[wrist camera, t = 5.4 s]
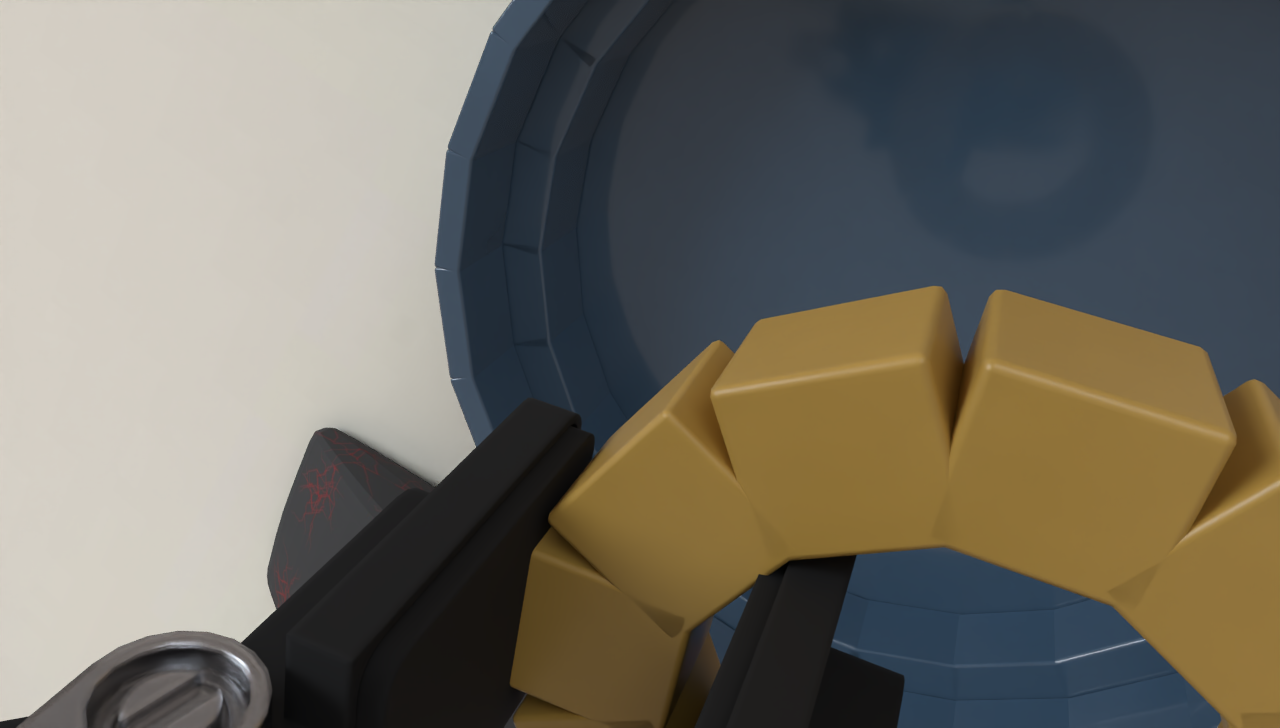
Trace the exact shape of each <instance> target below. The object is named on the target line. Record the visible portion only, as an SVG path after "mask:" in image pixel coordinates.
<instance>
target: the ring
mask: <svg viewBox="0 0 1280 728" xmlns="http://www.w3.org/2000/svg"><path fill="white" fill-rule="evenodd" d="M548 522H549V524H550V525H551V528H550V529H549V530H548V532H547V533H546V534H545V535H544V537H543V538H542V539H541V541H540V542H539V543H538V545H537V546H536V547H535V548H534V550H533V552H532V555H531V559H530V565H529V571H528V577H527V583H526V589H525V595H524V601H523V607H522V612H521V618H520V624H519V630H518V636H517V642H516V648H515V654H514V660H513V666H512V672H511V678H510V686H511V687H513V688H515V689H517V690H520V691H522V692H524V693H527V695H526V696H525V698H524V700H523V701H522V703H521V704H520V706H519V707H518V709H517V710H516V712H515V713H514V715H513V722H514V725H515V727H516V728H694V727H695V725H696V723H697V720H698V718H699V715H700V713H701V711H702V708H703V706H704V704H705V701H706V699H707V696H708V694H709V692H710V689H711V687H712V684H713V682H714V680H715V677H716V675H717V673H718V670H719V668H720V662H719V659H718V656H717V653H716V650H715V647H714V644H713V641H712V639H711V636H710V633H709V630H710V627H711V623H712V620H713V616H714V614H716V613H717V612H719V611H720V610H721V609H723V608H724V607H726V606H727V605H728V604H730V603H731V602H733V601H734V600H735V599H737V598H738V597H740V596H741V595H742V594H744V593H745V592H747V591H748V590H749V589H751V588H752V587H754V584H755V582H756V579H757V577H758V575H759V574H761V575H767V576H768V575H770V574H772V573H773V572H774V571H776V570H777V569H779V568H780V567H781V566H783V565H784V564H786V563H787V562H788V561H792V560H803V559H815V558H826V557H838V556H849V555H861V554H872V553H884V552H895V551H907V550H918V549H930V548H941V547H945V548H948V549H951V550H954V551H957V552H960V553H962V554H965V555H968V556H971V557H974V558H977V559H979V560H982V561H985V562H988V563H991V564H994V565H996V566H999V567H1002V568H1005V569H1008V570H1010V571H1013V572H1016V573H1019V574H1022V575H1025V576H1027V577H1030V578H1033V579H1036V580H1039V581H1042V582H1044V583H1047V584H1050V585H1053V586H1056V587H1059V588H1061V589H1064V590H1067V591H1070V592H1073V593H1076V594H1078V595H1081V596H1084V597H1087V598H1090V599H1093V600H1095V601H1098V602H1101V603H1104V604H1107V605H1110V606H1112V607H1113V608H1114V609H1115V610H1116V611H1117V612H1118V613H1119V614H1120V615H1121V616H1122V617H1123V618H1124V619H1125V620H1126V621H1127V622H1128V623H1129V624H1130V625H1131V626H1132V627H1133V628H1134V629H1135V630H1136V631H1137V632H1138V633H1139V634H1140V635H1141V636H1142V637H1143V638H1144V639H1145V640H1146V641H1147V642H1148V643H1149V644H1150V645H1151V646H1152V647H1153V648H1154V649H1155V650H1156V651H1157V652H1158V653H1159V654H1160V655H1161V656H1162V657H1163V658H1164V659H1165V660H1166V661H1167V662H1168V663H1169V664H1170V665H1171V666H1172V667H1173V668H1174V669H1175V670H1176V671H1177V672H1178V673H1179V674H1180V675H1181V676H1182V677H1183V678H1184V679H1185V680H1186V681H1187V682H1188V683H1189V684H1190V685H1191V686H1192V687H1193V688H1194V689H1195V690H1196V691H1197V692H1198V693H1199V694H1200V695H1201V696H1202V697H1203V698H1204V699H1205V700H1206V701H1207V702H1208V703H1209V704H1210V705H1211V706H1212V707H1213V708H1214V709H1215V710H1216V711H1217V712H1218V713H1219V714H1220V716H1221V722H1220V724H1219V725H1218V727H1217V728H1280V399H1279V398H1278V397H1277V396H1276V395H1275V394H1274V393H1273V392H1272V391H1271V390H1270V389H1269V388H1268V387H1267V386H1266V385H1265V384H1264V383H1262V382H1260V381H1258V380H1256V379H1253V380H1249V381H1247V382H1245V383H1244V384H1242V385H1240V386H1239V387H1237V388H1236V389H1234V390H1233V391H1231V392H1229V393H1228V394H1226V395H1225V396H1223V395H1222V392H1221V389H1220V387H1219V384H1218V381H1217V378H1216V375H1215V373H1214V370H1213V367H1212V364H1211V361H1210V358H1209V356H1208V353H1207V352H1206V351H1205V350H1203V349H1202V348H1201V347H1199V346H1195V345H1192V344H1188V343H1185V342H1181V341H1178V340H1175V339H1171V338H1168V337H1164V336H1161V335H1158V334H1154V333H1151V332H1147V331H1144V330H1141V329H1137V328H1134V327H1130V326H1127V325H1124V324H1120V323H1117V322H1113V321H1110V320H1107V319H1103V318H1100V317H1096V316H1093V315H1090V314H1086V313H1083V312H1079V311H1076V310H1073V309H1069V308H1066V307H1062V306H1059V305H1055V304H1052V303H1049V302H1045V301H1042V300H1038V299H1035V298H1032V297H1028V296H1025V295H1021V294H1018V293H1015V292H1011V291H1008V290H995V291H994V292H993V293H992V294H991V295H990V296H989V298H988V301H987V304H986V306H985V309H984V312H983V314H982V317H981V320H980V322H979V325H978V328H977V330H976V333H975V336H974V338H973V341H972V344H971V346H970V349H969V352H968V354H967V357H966V360H965V362H963V358H962V354H961V349H960V345H959V341H958V337H957V332H956V328H955V324H954V320H953V316H952V311H951V307H950V303H949V299H948V294H947V293H946V291H945V290H944V289H943V287H940V286H930V287H925V288H920V289H915V290H910V291H904V292H899V293H894V294H889V295H884V296H879V297H873V298H868V299H863V300H858V301H853V302H848V303H843V304H837V305H832V306H827V307H822V308H817V309H812V310H806V311H801V312H796V313H791V314H786V315H781V316H776V317H770V318H765V319H761V320H759V321H758V322H756V323H755V324H754V326H753V327H752V329H751V330H750V332H749V333H748V335H747V336H746V338H745V339H744V341H743V342H742V344H741V345H740V347H739V348H738V350H737V351H736V353H735V354H734V353H733V352H732V351H731V350H730V349H729V348H728V347H727V346H726V345H725V344H724V343H723V342H722V341H720V340H717V341H714V342H712V343H711V344H710V345H709V346H708V347H707V348H706V349H705V350H704V351H702V352H701V353H700V354H699V355H698V356H697V357H696V358H695V359H694V360H693V361H692V362H691V363H690V364H688V365H687V366H686V367H685V368H684V369H683V370H682V371H681V372H680V373H679V374H678V375H677V376H675V377H674V378H673V379H672V380H671V381H670V382H669V383H668V384H667V385H666V386H665V387H664V388H663V389H661V390H660V391H659V392H658V393H657V394H656V395H655V396H654V397H653V398H652V399H651V400H650V401H648V402H647V403H646V404H645V405H644V406H643V407H642V408H641V409H640V410H639V411H638V412H637V413H636V414H634V415H633V416H632V417H631V418H630V419H629V420H628V421H627V422H626V423H625V424H624V425H623V426H621V427H620V428H619V429H618V430H617V431H616V432H615V433H614V434H613V435H612V436H611V437H610V438H609V439H608V440H607V442H606V443H605V444H604V445H603V447H602V448H601V449H600V450H599V452H598V453H597V454H596V455H595V457H594V458H593V459H592V460H591V462H590V463H589V464H588V465H587V467H586V468H585V469H584V470H583V472H582V473H581V474H580V475H579V477H578V478H577V479H576V480H575V482H574V483H573V484H572V486H571V487H570V488H569V489H568V491H567V492H566V493H565V494H564V496H563V497H562V498H561V499H560V501H559V502H558V503H557V504H556V506H555V507H554V508H553V509H552V511H551V512H550V513H549V516H548Z"/></svg>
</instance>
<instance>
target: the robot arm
mask: <svg viewBox="0 0 1280 728" xmlns="http://www.w3.org/2000/svg"><path fill="white" fill-rule="evenodd" d="M581 427H582V421H581V416H580V415H579V414H577V413H574V412H571V411H569V410H566V409H563V408H560V407H557V406H554V405H552V404H549V403H546V402H543V401H540V400H537V399H535V398H527V399H526V400H524V401H523V402H522V403H521V404H520V405H519V406H518V407H517V408H516V409H515V410H514V411H513V412H512V413H511V414H510V415H509V416H508V417H507V418H506V419H505V420H504V421H503V422H502V423H501V424H500V425H499V426H498V427H497V428H496V429H495V430H494V431H493V432H491V433H490V434H489V435H488V436H487V437H486V438H485V439H484V440H483V441H482V442H481V443H480V444H479V445H478V446H477V447H476V448H475V449H474V450H473V451H472V452H471V453H470V454H469V455H468V456H467V457H466V458H465V459H464V460H463V461H462V462H461V463H460V464H459V465H458V466H457V467H456V468H455V469H454V470H453V471H452V472H451V473H450V474H449V475H448V476H447V477H446V478H445V479H444V480H443V481H442V482H441V483H439V484H438V485H437V486H436V487H435V488H434V489H433V490H432V491H431V492H430V493H429V492H426V491H424V490H421V489H418V488H411V489H407V490H406V491H404V492H403V493H402V494H400V495H399V496H397V497H396V498H395V499H394V500H393V501H392V502H391V503H390V504H389V505H388V506H387V507H386V508H384V509H383V510H382V511H381V512H380V513H379V514H378V515H377V516H376V517H375V518H374V519H373V520H372V521H371V522H370V523H368V524H367V525H366V526H365V527H364V528H363V529H362V530H361V531H360V532H359V533H358V534H357V535H356V536H355V537H354V538H352V539H351V540H350V541H349V542H348V543H347V544H346V545H345V546H344V547H343V548H342V549H341V550H340V551H339V552H338V553H336V554H335V555H334V556H333V557H332V558H331V559H330V560H329V561H328V562H327V563H326V564H325V565H324V566H323V567H322V568H320V569H319V570H318V571H317V572H316V573H315V574H314V575H313V576H312V577H311V578H310V579H309V580H308V581H307V582H305V583H304V584H303V585H302V586H301V587H300V588H299V589H298V590H297V591H296V592H295V593H294V594H293V595H292V596H291V597H289V598H288V599H287V600H286V601H285V602H284V603H283V604H282V605H281V606H280V607H279V608H278V609H277V610H276V611H275V612H273V613H272V614H271V615H270V616H269V617H268V618H267V619H266V620H265V621H264V622H263V623H262V624H261V625H260V626H259V627H257V628H256V629H255V630H254V631H253V632H252V633H251V634H250V635H249V636H248V637H247V638H246V639H245V640H244V641H243V642H241V643H240V642H238V641H236V640H235V639H232V638H228V637H224V636H221V635H217V634H214V633H210V632H194V631H175V632H169V633H163V634H157V635H151V636H147V637H144V638H142V639H139V640H136V641H134V642H131V643H128V644H126V645H123V646H121V647H118V648H116V649H115V650H113V651H112V652H110V653H109V654H107V655H106V656H104V657H103V658H101V659H100V660H98V661H96V662H95V663H93V664H92V665H91V666H90V667H88V668H87V669H86V670H85V671H83V672H82V673H81V674H80V675H79V676H77V677H76V678H75V679H74V680H73V681H71V682H70V683H69V684H68V685H67V686H65V687H64V688H63V689H62V690H61V691H59V692H58V693H57V694H56V695H55V696H53V697H52V698H51V699H50V700H49V701H47V702H46V703H45V704H44V705H43V706H41V707H40V708H39V709H38V710H37V711H35V712H34V713H33V714H32V715H31V716H29V717H24V718H18V719H13V720H7V721H2V722H0V728H504V727H505V725H506V724H507V722H508V721H509V719H510V717H511V716H512V714H513V713H514V711H515V710H516V708H517V707H518V705H519V703H520V702H521V700H522V699H523V697H524V696H525V694H526V693H524V692H522V691H520V690H517V689H515V688H513V687H511V686H510V678H511V672H512V666H513V660H514V654H515V648H516V642H517V636H518V630H519V624H520V618H521V612H522V607H523V601H524V595H525V589H526V583H527V577H528V571H529V565H530V559H531V555H532V552H533V550H534V548H535V547H536V546H537V545H538V543H539V542H540V541H541V539H542V538H543V537H544V535H545V534H546V533H547V532H548V530H549V529H550V528H551V525H550V524H549V522H548V516H549V513H550V512H551V511H552V509H553V508H554V507H555V506H556V504H557V503H558V502H559V501H560V499H561V498H562V497H563V496H564V494H565V493H566V492H567V491H568V489H569V488H570V487H571V486H572V484H573V483H574V482H575V480H576V479H577V478H578V477H579V475H580V474H581V473H582V472H583V470H584V469H585V468H586V467H587V465H588V464H589V463H590V462H591V460H592V456H593V451H594V444H595V436H594V435H593V434H592V433H589V432H586V431H583V430H581ZM856 556H857V555H849V556H838V557H826V558H815V559H803V560H792V561H788V562H787V563H786V564H784V565H783V566H781V567H780V568H779V569H777V570H776V571H774V572H773V573H772V574H770V575H768V576H767V575H761V574H759V575H758V577H757V579H756V582H755V584H754V587H753V589H752V591H751V594H750V596H749V599H748V601H747V603H746V606H745V608H744V610H743V613H742V615H741V618H740V620H739V622H738V625H737V627H736V630H735V632H734V634H733V637H732V639H731V641H730V644H729V646H728V649H727V651H726V653H725V656H724V658H723V661H722V663H721V665H720V668H719V670H718V673H717V675H716V677H715V680H714V682H713V684H712V687H711V689H710V692H709V694H708V696H707V699H706V701H705V704H704V706H703V708H702V711H701V713H700V715H699V718H698V720H697V723H696V725H695V727H694V728H897V725H898V720H899V714H900V708H901V703H902V697H903V691H904V683H905V679H904V675H902V674H899V673H897V672H894V671H891V670H889V669H886V668H884V667H881V666H878V665H876V664H873V663H871V662H868V661H865V660H863V659H860V658H858V657H855V656H852V655H850V654H847V653H845V652H842V651H840V650H837V649H834V648H832V647H831V645H832V641H833V638H834V634H835V631H836V627H837V623H838V620H839V616H840V613H841V609H842V606H843V602H844V599H845V595H846V592H847V588H848V585H849V581H850V578H851V574H852V570H853V567H854V563H855V560H856Z"/></svg>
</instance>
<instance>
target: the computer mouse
mask: <svg viewBox="0 0 1280 728" xmlns="http://www.w3.org/2000/svg"><path fill="white" fill-rule="evenodd" d="M411 488H418V489H421V490H424V491H426V492H429V493H430V492H431V491H432V490H433V489H434V487H433V486H431V485H430V484H428V483H426V482H425V481H423V480H422V479H420V478H419V477H417V476H415V475H414V474H412V473H411V472H409V471H407V470H406V469H404V468H402V467H401V466H399V465H398V464H396V463H394V462H393V461H391V460H389V459H388V458H386V457H384V456H383V455H381V454H379V453H378V452H376V451H375V450H373V449H371V448H369V447H368V446H366V445H364V444H362V443H361V442H359V441H357V440H355V439H354V438H352V437H350V436H348V435H346V434H345V433H343V432H341V431H339V430H337V429H335V428H323V429H321V430H318V431H315V433H314V435H313V436H312V438H311V440H310V442H309V444H308V447H307V449H306V452H305V455H304V457H303V460H302V462H301V465H300V467H299V470H298V473H297V475H296V478H295V480H294V483H293V485H292V488H291V491H290V494H289V497H288V499H287V502H286V505H285V508H284V511H283V514H282V517H281V520H280V524H279V527H278V531H277V534H276V538H275V542H274V546H273V550H272V554H271V557H270V561H269V565H268V573H267V579H268V586H269V589H270V592H271V595H272V598H273V601H274V604H275V607H276V609H278V608H279V607H280V606H281V605H282V604H283V603H284V602H285V601H286V600H287V599H288V598H289V597H291V596H292V595H293V594H294V593H295V592H296V591H297V590H298V589H299V588H300V587H301V586H302V585H303V584H304V583H305V582H307V581H308V580H309V579H310V578H311V577H312V576H313V575H314V574H315V573H316V572H317V571H318V570H319V569H320V568H322V567H323V566H324V565H325V564H326V563H327V562H328V561H329V560H330V559H331V558H332V557H333V556H334V555H335V554H336V553H338V552H339V551H340V550H341V549H342V548H343V547H344V546H345V545H346V544H347V543H348V542H349V541H350V540H351V539H352V538H354V537H355V536H356V535H357V534H358V533H359V532H360V531H361V530H362V529H363V528H364V527H365V526H366V525H367V524H368V523H370V522H371V521H372V520H373V519H374V518H375V517H376V516H377V515H378V514H379V513H380V512H381V511H382V510H383V509H384V508H386V507H387V506H388V505H389V504H390V503H391V502H392V501H393V500H394V499H395V498H396V497H397V496H399V495H400V494H402V493H403V492H404V491H406V490H407V489H411ZM526 695H527V693H526V694H525V696H526ZM525 696H524V697H523V699H522V700H521V702H520V703H519V705H518V707H519V706H520V704H521V703H522V701H523V700H524V698H525ZM518 707H517V708H516V710H517V709H518ZM516 710H515V711H514V713H515V712H516ZM514 713H513V714H512V716H511V717H510V719H509V721H508V722H507V724H506V725H505V727H504V728H516V727H515V725H514V722H513V715H514Z"/></svg>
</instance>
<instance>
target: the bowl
mask: <svg viewBox="0 0 1280 728" xmlns="http://www.w3.org/2000/svg"><path fill="white" fill-rule="evenodd" d="M435 266H436V268H435V275H436V282H437V289H438V296H439V303H440V310H441V317H442V324H443V331H444V338H445V345H446V352H447V359H448V366H449V373H450V377H451V378H452V379H451V383H452V386H453V388H454V391H455V393H456V396H457V399H458V401H459V404H460V406H461V409H462V411H463V414H464V417H465V419H466V422H467V424H468V427H469V429H470V432H471V435H472V437H473V440H474V442H475V445H476V447H477V446H478V445H479V444H480V443H481V442H482V441H483V440H484V439H485V438H486V437H487V436H488V435H489V434H490V433H491V432H493V431H494V430H495V429H496V428H497V427H498V426H499V425H500V424H501V423H502V422H503V421H504V420H505V419H506V418H507V417H508V416H509V415H510V414H511V413H512V412H513V411H514V410H515V409H516V408H517V407H518V406H519V405H520V404H521V403H522V402H523V401H524V400H526V399H527V398H535V399H537V400H540V401H543V402H546V403H549V404H552V405H554V406H557V407H560V408H563V409H566V410H569V411H571V412H574V413H577V414H579V415H580V416H581V421H582V427H581V430H583V431H586V432H589V433H592V434H593V435H594V436H595V444H594V451H593V456H592V459H593V458H594V457H595V455H596V454H597V453H598V452H599V450H600V449H601V448H602V447H603V445H604V444H605V443H606V442H607V440H608V439H609V438H610V437H611V436H612V435H613V434H614V433H615V432H616V431H617V430H618V429H619V428H620V427H621V426H623V425H624V424H625V423H626V422H627V421H628V420H629V419H630V418H631V417H632V416H633V415H634V414H636V413H637V412H638V411H639V410H640V409H641V408H642V407H643V406H644V405H645V404H646V403H647V402H648V401H650V400H651V399H652V398H653V397H654V396H655V395H656V394H657V393H658V392H659V391H660V390H661V389H663V388H664V387H665V386H666V385H667V384H668V383H669V382H670V381H671V380H672V379H673V378H674V377H675V376H677V375H678V374H679V373H680V372H681V371H682V370H683V369H684V368H685V367H686V366H687V365H688V364H690V363H691V362H692V361H693V360H694V359H695V358H696V357H697V356H698V355H699V354H700V353H701V352H702V351H704V350H705V349H706V348H707V347H708V346H709V345H710V344H711V343H712V342H714V341H717V340H720V341H722V342H723V343H724V344H725V345H726V346H727V347H728V348H729V349H730V350H731V351H732V352H733V353H734V354H735V353H736V351H737V350H738V348H739V347H740V345H741V344H742V342H743V341H744V339H745V338H746V336H747V335H748V333H749V332H750V330H751V329H752V327H753V326H754V324H755V323H756V322H758V321H759V320H761V319H765V318H770V317H776V316H781V315H786V314H791V313H796V312H801V311H806V310H812V309H817V308H822V307H827V306H832V305H837V304H843V303H848V302H853V301H858V300H863V299H868V298H873V297H879V296H884V295H889V294H894V293H899V292H904V291H910V290H915V289H920V288H925V287H930V286H940V287H943V289H944V290H945V291H946V293H947V294H948V299H949V303H950V307H951V311H952V316H953V320H954V324H955V328H956V332H957V337H958V341H959V345H960V349H961V354H962V358H963V362H965V360H966V357H967V354H968V352H969V349H970V346H971V344H972V341H973V338H974V336H975V333H976V330H977V328H978V325H979V322H980V320H981V317H982V314H983V312H984V309H985V306H986V304H987V301H988V298H989V296H990V295H991V294H992V293H993V292H994V291H995V290H1008V291H1011V292H1015V293H1018V294H1021V295H1025V296H1028V297H1032V298H1035V299H1038V300H1042V301H1045V302H1049V303H1052V304H1055V305H1059V306H1062V307H1066V308H1069V309H1073V310H1076V311H1079V312H1083V313H1086V314H1090V315H1093V316H1096V317H1100V318H1103V319H1107V320H1110V321H1113V322H1117V323H1120V324H1124V325H1127V326H1130V327H1134V328H1137V329H1141V330H1144V331H1147V332H1151V333H1154V334H1158V335H1161V336H1164V337H1168V338H1171V339H1175V340H1178V341H1181V342H1185V343H1188V344H1192V345H1195V346H1199V347H1201V348H1202V349H1203V350H1205V351H1206V352H1207V353H1208V356H1209V358H1210V361H1211V364H1212V367H1213V370H1214V373H1215V375H1216V378H1217V381H1218V384H1219V387H1220V389H1221V392H1222V395H1223V396H1225V395H1226V394H1228V393H1229V392H1231V391H1233V390H1234V389H1236V388H1237V387H1239V386H1240V385H1242V384H1244V383H1245V382H1247V381H1249V380H1253V379H1256V380H1258V381H1260V382H1262V383H1264V384H1265V385H1266V386H1267V387H1268V388H1269V389H1270V390H1271V391H1272V392H1273V393H1274V394H1275V395H1276V396H1277V397H1278V398H1279V399H1280V0H512V1H511V3H510V4H509V5H508V7H507V8H506V10H505V11H504V12H503V14H502V15H501V17H500V18H499V19H498V21H497V22H496V23H495V25H494V26H493V31H492V32H491V33H490V35H489V38H488V41H487V43H486V46H485V49H484V51H483V54H482V57H481V59H480V62H479V65H478V67H477V70H476V73H475V75H474V78H473V81H472V83H471V86H470V89H469V91H468V94H467V96H466V99H465V102H464V104H463V107H462V110H461V112H460V115H459V118H458V120H457V123H456V126H455V128H454V131H453V134H452V136H451V139H450V142H449V144H448V150H447V152H446V160H445V170H444V179H443V189H442V199H441V208H440V218H439V228H438V237H437V247H436V257H435ZM752 589H753V587H752V588H751V589H749V590H748V591H747V592H745V593H744V594H742V595H741V596H740V597H738V598H737V599H735V600H734V601H733V602H731V603H730V604H728V605H727V606H726V607H724V608H723V609H721V610H720V611H719V612H717V613H716V614H714V616H713V620H712V623H711V627H710V630H709V633H710V636H711V639H712V641H713V644H714V647H715V650H716V653H717V656H718V659H719V662H720V665H721V663H722V661H723V658H724V656H725V653H726V651H727V649H728V646H729V644H730V641H731V639H732V637H733V634H734V632H735V630H736V627H737V625H738V622H739V620H740V618H741V615H742V613H743V610H744V608H745V606H746V603H747V601H748V599H749V596H750V594H751V591H752ZM831 647H832V648H834V649H837V650H840V651H842V652H845V653H847V654H850V655H852V656H855V657H858V658H860V659H863V660H865V661H868V662H871V663H873V664H876V665H878V666H881V667H884V668H886V669H889V670H891V671H894V672H897V673H899V674H902V675H904V679H905V683H904V691H903V697H902V703H901V708H900V714H899V720H898V725H897V728H1217V727H1218V725H1219V724H1220V722H1221V716H1220V714H1219V713H1218V712H1217V711H1216V710H1215V709H1214V708H1213V707H1212V706H1211V705H1210V704H1209V703H1208V702H1207V701H1206V700H1205V699H1204V698H1203V697H1202V696H1201V695H1200V694H1199V693H1198V692H1197V691H1196V690H1195V689H1194V688H1193V687H1192V686H1191V685H1190V684H1189V683H1188V682H1187V681H1186V680H1185V679H1184V678H1183V677H1182V676H1181V675H1180V674H1179V673H1178V672H1177V671H1176V670H1175V669H1174V668H1173V667H1172V666H1171V665H1170V664H1169V663H1168V662H1167V661H1166V660H1165V659H1164V658H1163V657H1162V656H1161V655H1160V654H1159V653H1158V652H1157V651H1156V650H1155V649H1154V648H1153V647H1152V646H1151V645H1150V644H1149V643H1148V642H1147V641H1146V640H1145V639H1144V638H1143V637H1142V636H1141V635H1140V634H1139V633H1138V632H1137V631H1136V630H1135V629H1134V628H1133V627H1132V626H1131V625H1130V624H1129V623H1128V622H1127V621H1126V620H1125V619H1124V618H1123V617H1122V616H1121V615H1120V614H1119V613H1118V612H1117V611H1116V610H1115V609H1114V608H1113V607H1112V606H1110V605H1107V604H1104V603H1101V602H1098V601H1095V600H1093V599H1090V598H1087V597H1084V596H1081V595H1078V594H1076V593H1073V592H1070V591H1067V590H1064V589H1061V588H1059V587H1056V586H1053V585H1050V584H1047V583H1044V582H1042V581H1039V580H1036V579H1033V578H1030V577H1027V576H1025V575H1022V574H1019V573H1016V572H1013V571H1010V570H1008V569H1005V568H1002V567H999V566H996V565H994V564H991V563H988V562H985V561H982V560H979V559H977V558H974V557H971V556H968V555H965V554H962V553H960V552H957V551H954V550H951V549H948V548H945V547H941V548H930V549H918V550H907V551H895V552H884V553H872V554H861V555H857V556H856V560H855V563H854V567H853V570H852V574H851V578H850V581H849V585H848V588H847V592H846V595H845V599H844V602H843V606H842V609H841V613H840V616H839V620H838V623H837V627H836V631H835V634H834V638H833V641H832V645H831Z"/></svg>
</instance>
